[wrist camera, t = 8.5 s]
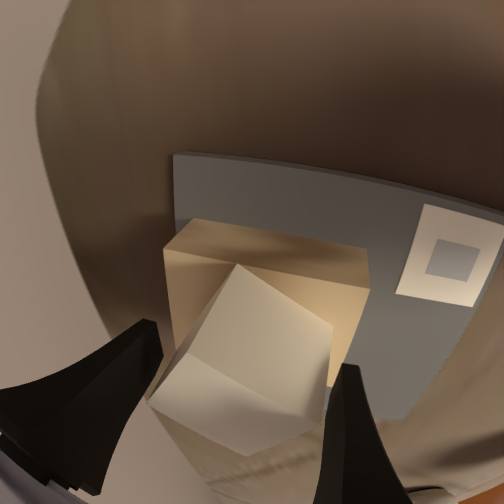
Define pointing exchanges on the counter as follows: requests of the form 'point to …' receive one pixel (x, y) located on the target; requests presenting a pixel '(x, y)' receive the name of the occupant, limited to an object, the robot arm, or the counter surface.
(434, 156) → the counter surface
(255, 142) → the counter surface
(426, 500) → the teacup
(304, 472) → the counter surface
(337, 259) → the oak base brick
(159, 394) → the cream cube
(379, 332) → the board
